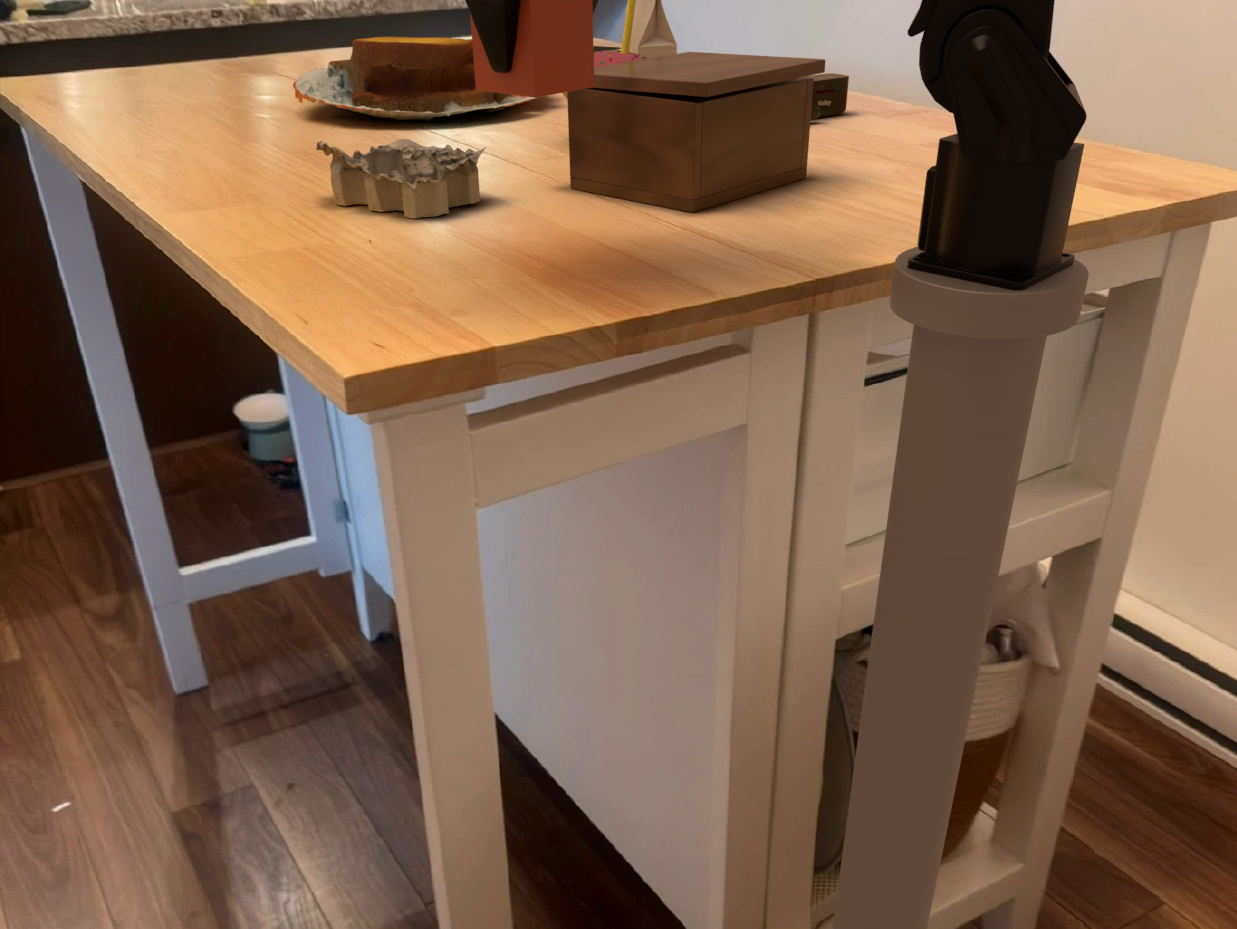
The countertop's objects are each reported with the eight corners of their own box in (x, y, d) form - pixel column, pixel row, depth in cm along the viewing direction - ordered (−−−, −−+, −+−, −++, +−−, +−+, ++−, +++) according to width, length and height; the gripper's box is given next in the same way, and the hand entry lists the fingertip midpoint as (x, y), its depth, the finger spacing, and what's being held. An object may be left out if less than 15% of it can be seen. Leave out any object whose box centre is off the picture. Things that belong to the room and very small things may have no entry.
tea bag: (638, 116, 108) (637, -5, 103) (622, 105, 114) (621, -11, 108) (675, 114, 109) (677, -6, 103) (658, 103, 114) (659, -12, 109)
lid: (825, 72, 81) (825, 59, 81) (706, 97, 73) (706, 82, 73) (688, 64, 89) (688, 51, 88) (566, 85, 80) (565, 72, 80)
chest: (806, 178, 86) (814, 77, 82) (692, 212, 78) (695, 103, 74) (686, 158, 92) (688, 64, 89) (570, 188, 84) (566, 86, 80)
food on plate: (551, 84, 125) (549, 16, 122) (556, 127, 105) (553, 46, 101) (317, 89, 124) (307, 20, 120) (275, 133, 104) (262, 52, 100)
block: (594, 86, 61) (592, -11, 59) (535, 98, 58) (530, -4, 56) (535, 79, 64) (530, -14, 61) (475, 89, 61) (468, -8, 58)
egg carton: (317, 203, 82) (307, 141, 79) (394, 183, 87) (387, 124, 84) (422, 223, 76) (415, 157, 74) (498, 201, 81) (494, 139, 79)
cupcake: (667, 133, 101) (668, -24, 95) (657, 152, 94) (658, -15, 88) (571, 132, 102) (566, -23, 96) (554, 151, 95) (547, -15, 89)
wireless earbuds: (770, 118, 107) (773, 80, 105) (828, 110, 110) (831, 72, 108) (804, 125, 103) (806, 86, 102) (862, 117, 107) (866, 78, 105)
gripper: (534, -287, 62) (549, 39, 71) (235, -318, 50) (297, 75, 59) (697, -308, 56) (690, 52, 64) (398, -349, 44) (440, 95, 53)
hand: (535, 66), depth 60 cm, fingers closed on block, 4 cm apart
